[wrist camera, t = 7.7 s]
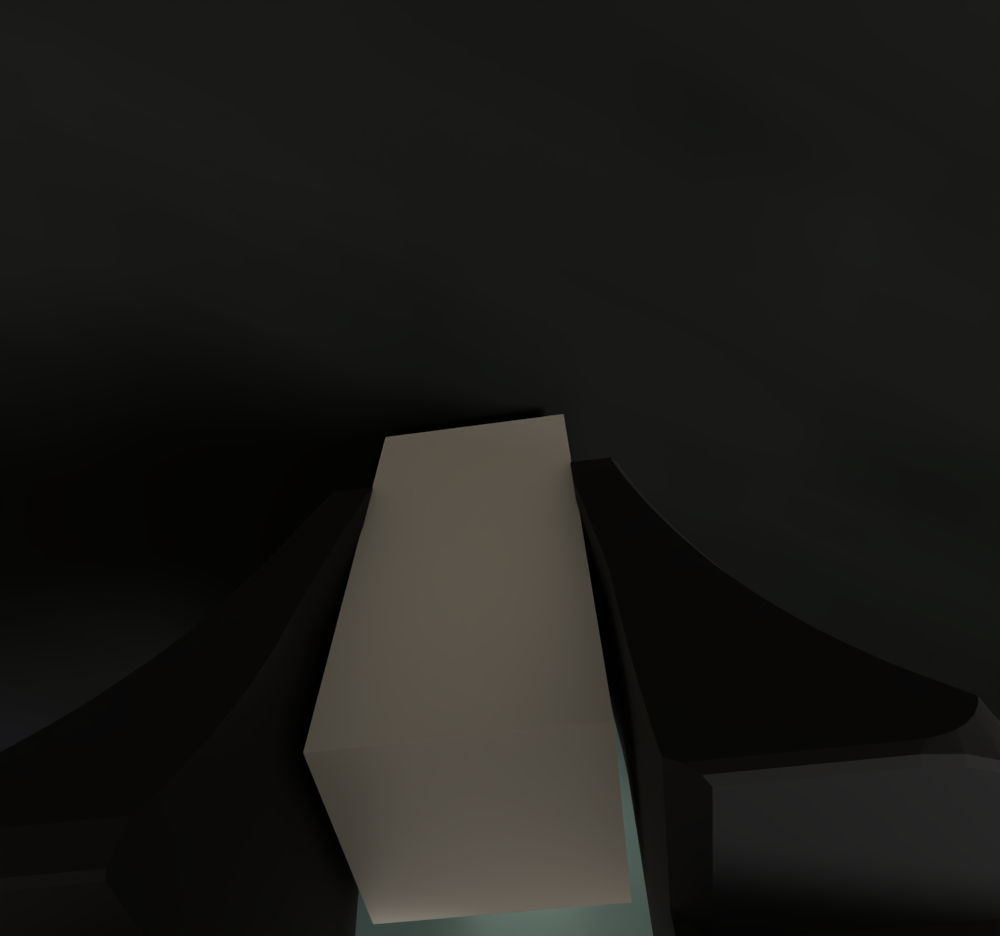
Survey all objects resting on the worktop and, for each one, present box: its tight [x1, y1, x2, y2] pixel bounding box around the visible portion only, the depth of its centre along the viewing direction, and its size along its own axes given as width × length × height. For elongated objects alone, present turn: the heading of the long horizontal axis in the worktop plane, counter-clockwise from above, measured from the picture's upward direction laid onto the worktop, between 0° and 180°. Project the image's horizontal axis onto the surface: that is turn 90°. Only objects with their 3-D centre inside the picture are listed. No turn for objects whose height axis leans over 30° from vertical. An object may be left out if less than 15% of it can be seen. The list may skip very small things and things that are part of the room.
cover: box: [303, 414, 653, 936], centre depth 14 cm, size 6×14×6 cm, turn 8°
